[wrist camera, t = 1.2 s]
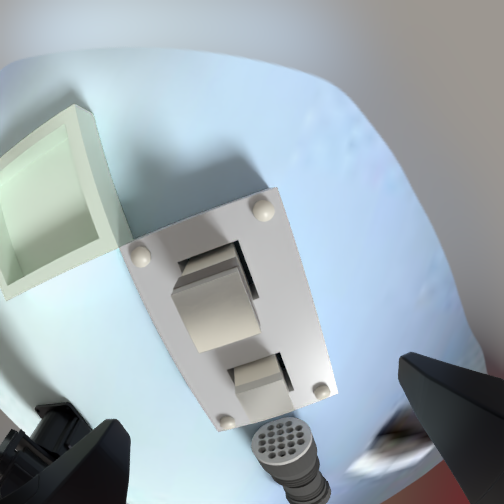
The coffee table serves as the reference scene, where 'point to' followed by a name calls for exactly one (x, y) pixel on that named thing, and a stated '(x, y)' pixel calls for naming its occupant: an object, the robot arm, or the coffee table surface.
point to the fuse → (262, 389)
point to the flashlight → (291, 460)
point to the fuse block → (263, 294)
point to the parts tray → (56, 203)
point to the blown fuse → (216, 299)
